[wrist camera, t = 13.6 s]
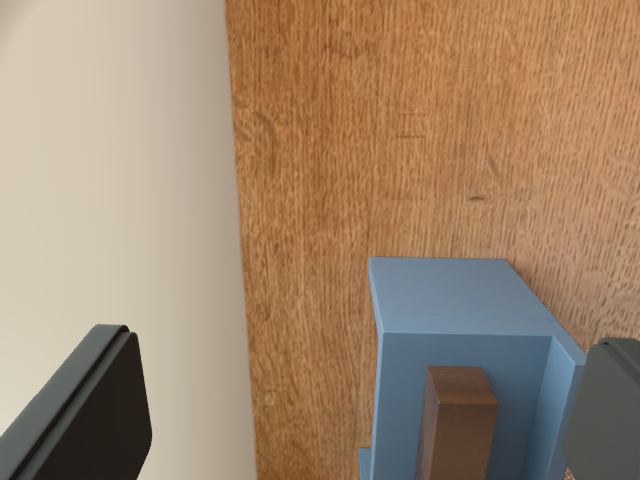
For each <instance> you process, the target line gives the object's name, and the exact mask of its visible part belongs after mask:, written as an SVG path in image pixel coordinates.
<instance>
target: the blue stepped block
mask: <svg viewBox="0 0 640 480" xmlns="http://www.w3.org/2000/svg"><path fill="white" fill-rule="evenodd" d="M368 276H369V282H370V288H371V295H372V301H373V307H374V313H375V319H376V326H377V332H378V338H379V342H378V357H377V373H376V388H375V403H374V418H373V434H372V448H359V459H358V461H359V477H360V480H414V477H415V468H416V459H417V450H418V441H419V433H420V424H421V415H422V406H423V398H424V389H425V380H426V371H427V366H428V365H430V366H473V367H482V370H483V372H484V374H485V376H486V378H487V380H488V382H489V384H490V386H491V388H492V390H493V393H494V395H495V397H496V399H497V401H498V403H499V407H498V412H497V418H496V423H495V428H494V433H493V439H492V444H491V449H490V454H489V460H488V465H487V470H486V475H485V480H563V479H564V476H565V472H566V468H567V464H566V462H565V460H564V457H563V454H562V440H563V437H564V434H565V430H566V427H567V424H568V420H569V417H570V414H571V410H572V407H573V404H574V400H575V397H576V393H577V390H578V387H579V383H580V380H581V377H582V373H583V370H584V367H585V363H586V360H587V355H586V353H585V352H584V351H583V350H582V349H581V348H580V346H579V345H578V344H577V343H576V342H575V340H574V339H573V338H572V337H571V336H570V335H569V334H568V332H567V331H566V330H565V329H564V328H563V327H562V325H561V324H560V323H559V322H558V321H557V319H556V318H555V317H554V316H553V315H552V313H551V312H550V311H549V310H548V309H547V307H546V306H545V305H544V304H543V303H542V302H541V300H540V299H539V298H538V297H537V296H536V294H535V293H534V292H533V291H532V290H531V289H530V287H529V286H528V285H527V284H526V283H525V282H524V280H523V279H522V278H521V277H520V276H519V274H518V273H517V272H516V271H515V270H514V269H513V267H512V266H511V265H510V264H509V263H508V261H507V260H506V259H469V258H414V257H369V268H368Z"/></svg>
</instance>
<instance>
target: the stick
mask: <svg viewBox="0 0 640 480" xmlns="http://www.w3.org/2000/svg"><path fill="white" fill-rule="evenodd" d="M498 407H499V403H498V401H497V399H496V397H495V395H494V393H493V390H492V388H491V386H490V384H489V382H488V380H487V378H486V376H485V374H484V372H483V370H482V367H473V366H430V365H428V366H427V371H426V380H425V389H424V398H423V406H422V415H421V424H420V433H419V441H418V450H417V459H416V468H415V477H414V480H485V475H486V470H487V465H488V460H489V454H490V449H491V444H492V439H493V433H494V428H495V423H496V418H497V412H498Z"/></svg>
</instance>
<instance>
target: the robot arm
mask: <svg viewBox="0 0 640 480" xmlns="http://www.w3.org/2000/svg"><path fill="white" fill-rule="evenodd" d="M151 441H152V428H151V422H150V415H149V408H148V403H147V395H146V389H145V383H144V375H143V369H142V362H141V355H140V348H139V342H138V337H137V334H136V333H134V332H130V331H129V329H128V327H127V326H126V325H105V324H104V325H102V324H98V325H95V326H94V327H93V328H92V329H91V330H90V331H89V333H88V334H87V335H86V336H85V337H84V339H83V340H82V341H81V342H80V344H79V345H78V346H77V347H76V348H75V349H74V351H73V352H72V353H71V354H70V356H69V357H68V358H67V359H66V360H65V361H64V363H63V364H62V365H61V366H60V368H59V369H58V370H57V371H56V372H55V374H54V375H53V376H52V377H51V378H50V380H49V381H48V382H47V383H46V384H45V386H44V387H43V388H42V389H41V390H40V392H39V393H38V394H37V395H36V396H35V397H34V398H33V399H32V400H31V402H29V404H28V405H27V406H26V407H25V409H24V410H23V411H22V412H21V413H20V414H19V416H18V417H17V418H16V419H15V421H14V422H13V423H12V424H11V425H10V426H9V428H8V429H7V430H6V431H5V432H4V434H3V435H2V436H1V437H0V480H137V478H138V475H139V473H140V471H141V468H142V466H143V464H144V461H145V459H146V457H147V455H148V452H149V449H150V446H151ZM562 454H563V457H564V460H565V462H566V464H567V466H568V467H569V469H570V471H571V473H572V474H573V476H574V478H575V479H576V480H640V342H639V341H638V340H636V339H633V338H608V337H605V338H602V339H600V340H599V341H598V343H597V344H595V345H593V346H592V347H591V348H590V350H589V353H588V356H587V360H586V363H585V367H584V370H583V373H582V377H581V380H580V383H579V387H578V390H577V393H576V397H575V400H574V404H573V407H572V410H571V414H570V417H569V420H568V424H567V427H566V430H565V434H564V437H563V440H562Z"/></svg>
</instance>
